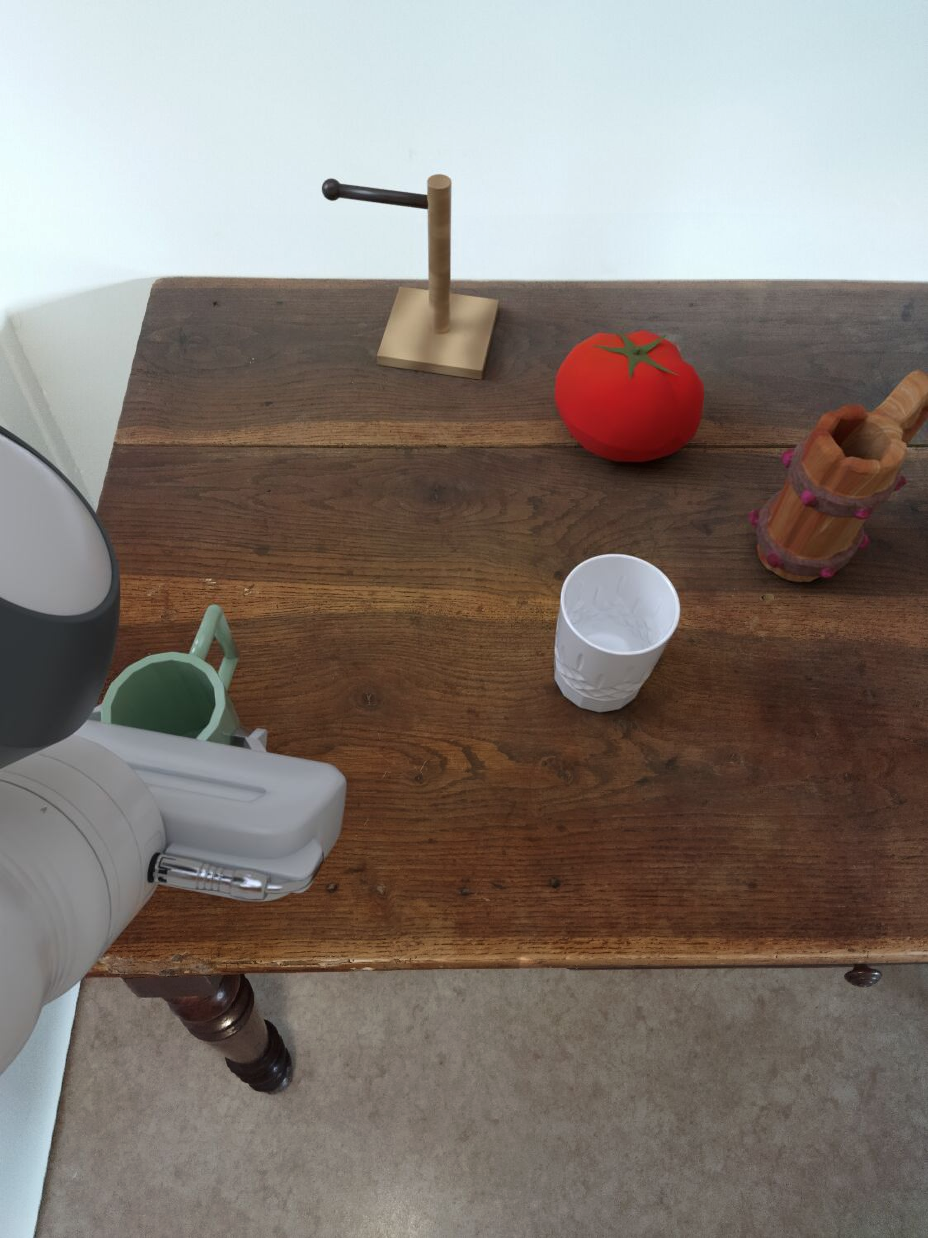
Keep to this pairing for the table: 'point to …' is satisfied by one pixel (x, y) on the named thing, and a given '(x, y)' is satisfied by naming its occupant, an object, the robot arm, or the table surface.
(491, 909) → the table surface
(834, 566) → the mug
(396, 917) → the table surface
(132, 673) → the enamel mug
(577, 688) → the white cup
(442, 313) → the mug stand
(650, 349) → the tomato
